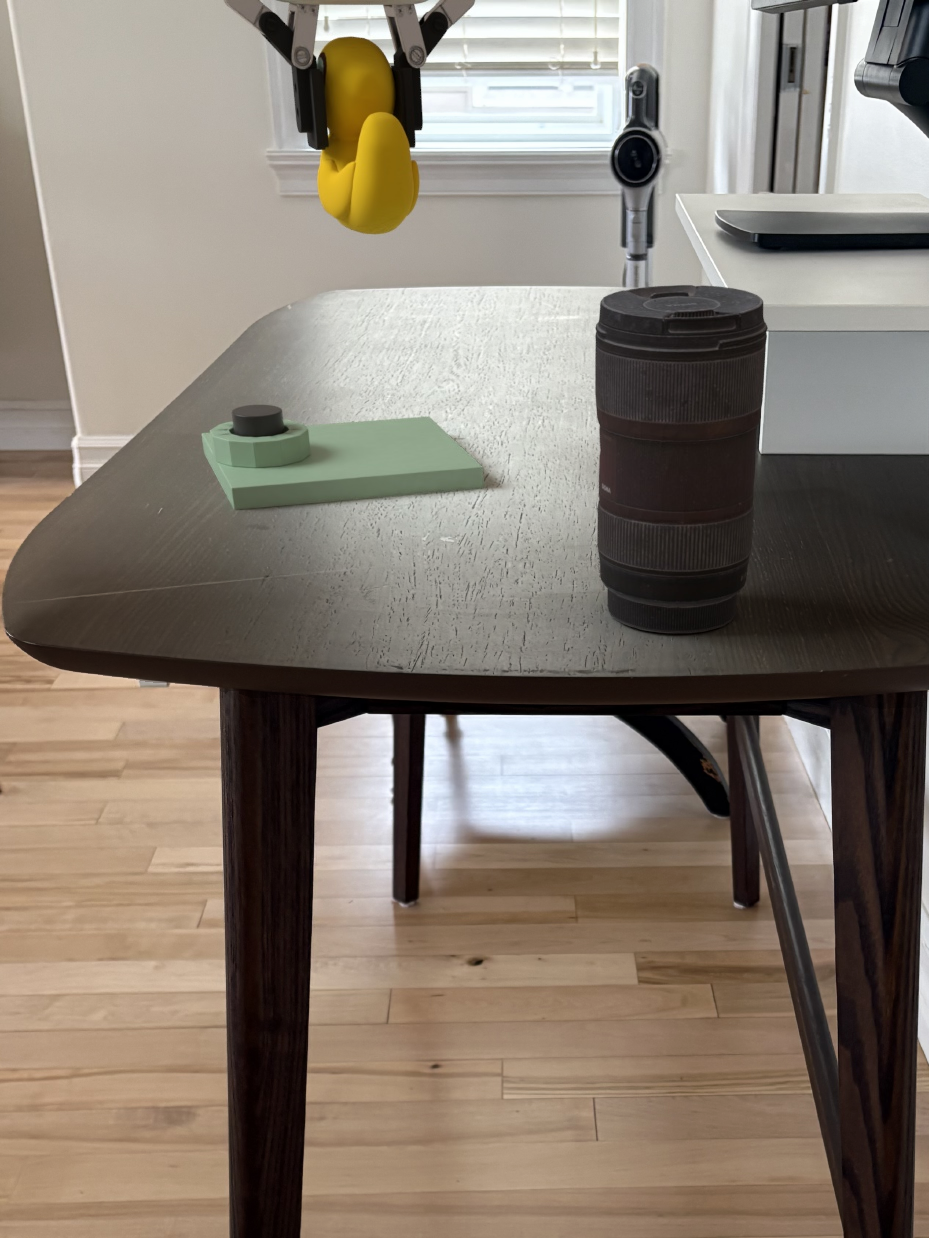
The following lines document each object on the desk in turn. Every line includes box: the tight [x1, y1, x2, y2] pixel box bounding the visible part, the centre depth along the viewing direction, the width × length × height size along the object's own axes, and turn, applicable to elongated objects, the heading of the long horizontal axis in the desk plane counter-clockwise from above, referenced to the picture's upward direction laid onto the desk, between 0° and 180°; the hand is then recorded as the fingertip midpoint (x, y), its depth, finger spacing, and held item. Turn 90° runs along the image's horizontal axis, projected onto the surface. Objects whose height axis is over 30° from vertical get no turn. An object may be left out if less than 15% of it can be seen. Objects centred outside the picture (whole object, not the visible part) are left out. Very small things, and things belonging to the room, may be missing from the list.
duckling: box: [316, 36, 420, 235], centre depth 90 cm, size 11×5×10 cm, turn 25°
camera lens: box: [594, 284, 769, 634], centre depth 75 cm, size 8×8×15 cm
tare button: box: [231, 404, 285, 437], centre depth 97 cm, size 3×3×2 cm
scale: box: [201, 415, 485, 511], centre depth 100 cm, size 16×14×3 cm
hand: (361, 143), depth 90 cm, fingers closed on duckling, 4 cm apart
